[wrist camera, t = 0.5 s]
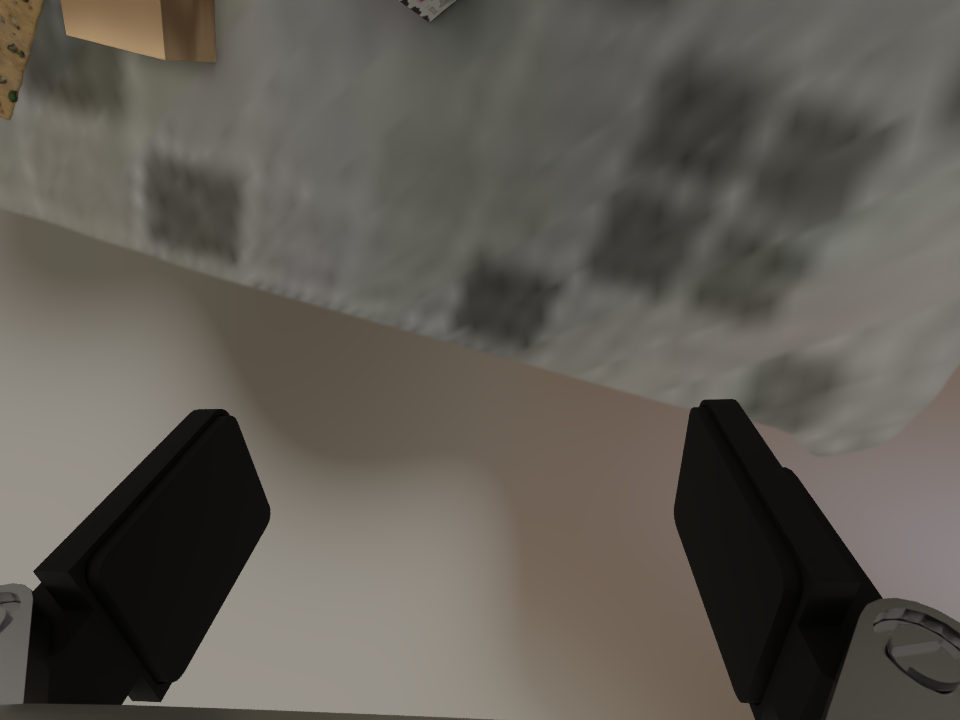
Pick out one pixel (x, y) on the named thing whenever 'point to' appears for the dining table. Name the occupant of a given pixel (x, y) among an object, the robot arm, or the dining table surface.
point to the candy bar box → (428, 7)
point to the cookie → (15, 47)
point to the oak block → (146, 26)
